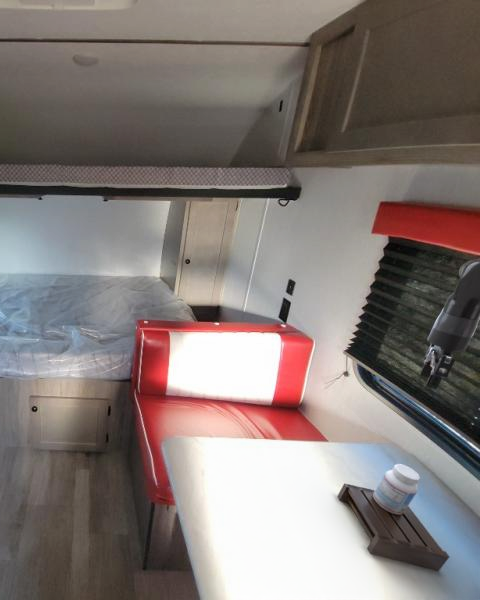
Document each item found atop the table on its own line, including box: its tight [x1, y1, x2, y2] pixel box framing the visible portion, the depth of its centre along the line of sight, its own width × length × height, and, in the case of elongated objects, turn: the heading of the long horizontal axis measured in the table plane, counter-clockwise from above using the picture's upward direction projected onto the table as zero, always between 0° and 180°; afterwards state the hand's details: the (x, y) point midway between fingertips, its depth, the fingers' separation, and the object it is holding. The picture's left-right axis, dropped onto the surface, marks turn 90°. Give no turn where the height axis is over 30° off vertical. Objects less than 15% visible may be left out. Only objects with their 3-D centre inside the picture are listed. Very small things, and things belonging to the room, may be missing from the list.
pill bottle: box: [373, 463, 421, 515], centre depth 82 cm, size 6×6×11 cm
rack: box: [337, 483, 450, 572], centre depth 82 cm, size 14×15×5 cm
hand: (427, 381), depth 97 cm, fingers open, 8 cm apart
